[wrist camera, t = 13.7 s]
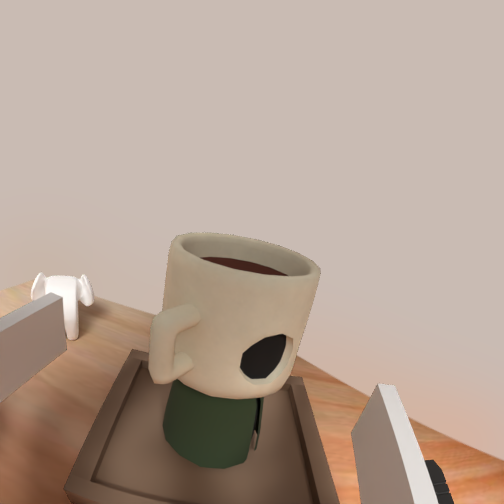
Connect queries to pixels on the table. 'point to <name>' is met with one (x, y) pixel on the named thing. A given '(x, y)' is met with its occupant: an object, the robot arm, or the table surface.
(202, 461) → the character mug
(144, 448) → the walnut tray
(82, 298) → the elephant figurine
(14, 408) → the table surface
